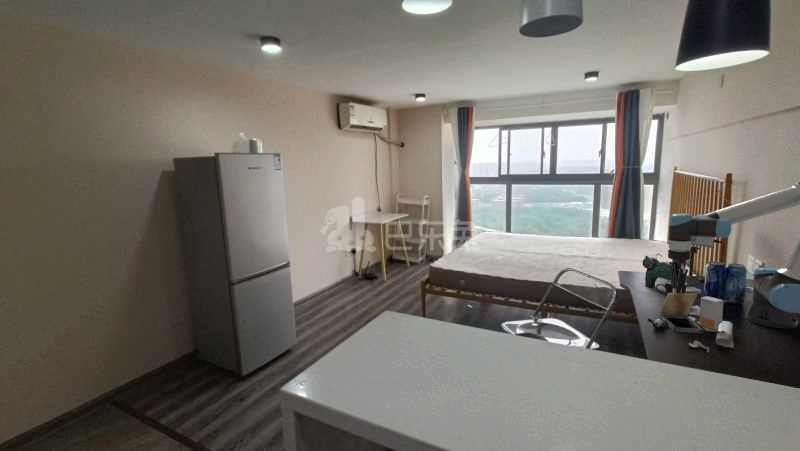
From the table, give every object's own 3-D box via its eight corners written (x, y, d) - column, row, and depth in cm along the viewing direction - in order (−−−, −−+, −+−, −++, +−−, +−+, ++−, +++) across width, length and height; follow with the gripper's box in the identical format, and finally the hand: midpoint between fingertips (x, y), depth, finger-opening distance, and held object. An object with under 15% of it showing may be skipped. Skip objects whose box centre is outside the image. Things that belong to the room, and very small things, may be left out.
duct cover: (687, 315, 156) (686, 314, 157) (697, 295, 147) (696, 293, 147) (660, 314, 160) (660, 312, 160) (668, 294, 150) (668, 292, 151)
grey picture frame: (687, 319, 157) (687, 315, 156) (703, 333, 143) (703, 329, 142) (660, 317, 160) (660, 314, 160) (673, 331, 146) (673, 328, 146)
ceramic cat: (640, 285, 203) (641, 252, 201) (649, 284, 205) (650, 250, 203) (676, 295, 185) (678, 258, 182) (685, 293, 186) (686, 257, 184)
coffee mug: (688, 301, 175) (689, 282, 174) (682, 306, 171) (683, 286, 169) (661, 296, 185) (662, 278, 184) (654, 300, 180) (655, 281, 179)
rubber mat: (713, 323, 151) (713, 322, 151) (724, 332, 142) (724, 331, 142) (696, 322, 153) (696, 321, 153) (706, 331, 144) (706, 330, 144)
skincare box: (698, 324, 150) (700, 297, 148) (705, 322, 151) (707, 295, 149) (715, 329, 144) (716, 301, 142) (722, 328, 145) (723, 300, 143)
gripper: (663, 246, 158) (661, 296, 161) (674, 253, 146) (671, 307, 150) (683, 246, 155) (680, 297, 159) (696, 253, 143) (693, 308, 147)
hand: (676, 302), depth 154 cm, fingers closed
